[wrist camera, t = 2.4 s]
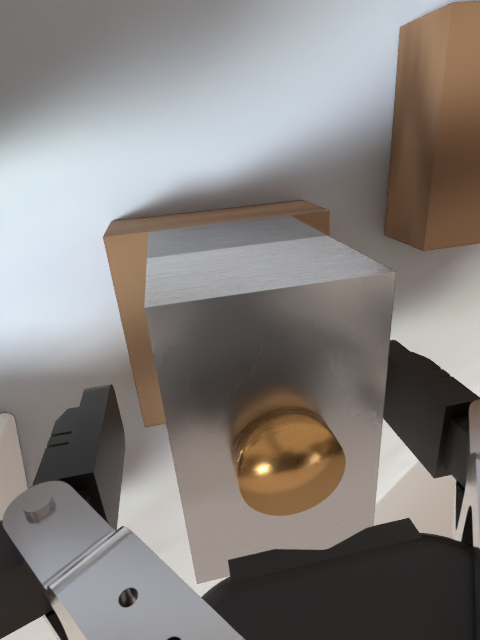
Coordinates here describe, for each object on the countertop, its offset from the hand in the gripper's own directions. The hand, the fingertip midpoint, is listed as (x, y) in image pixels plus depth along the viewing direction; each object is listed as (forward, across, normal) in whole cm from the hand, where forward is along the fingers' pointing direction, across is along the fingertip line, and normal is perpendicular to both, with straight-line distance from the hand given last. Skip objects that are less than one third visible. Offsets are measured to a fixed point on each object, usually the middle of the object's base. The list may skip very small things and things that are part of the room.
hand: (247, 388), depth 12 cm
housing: (+4, 0, 0) cm, 4 cm away
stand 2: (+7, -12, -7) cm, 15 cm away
